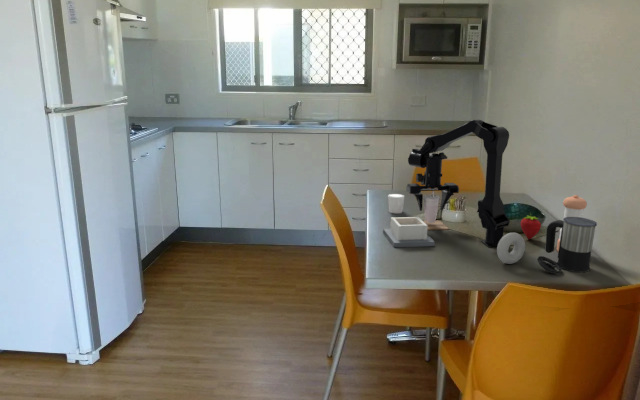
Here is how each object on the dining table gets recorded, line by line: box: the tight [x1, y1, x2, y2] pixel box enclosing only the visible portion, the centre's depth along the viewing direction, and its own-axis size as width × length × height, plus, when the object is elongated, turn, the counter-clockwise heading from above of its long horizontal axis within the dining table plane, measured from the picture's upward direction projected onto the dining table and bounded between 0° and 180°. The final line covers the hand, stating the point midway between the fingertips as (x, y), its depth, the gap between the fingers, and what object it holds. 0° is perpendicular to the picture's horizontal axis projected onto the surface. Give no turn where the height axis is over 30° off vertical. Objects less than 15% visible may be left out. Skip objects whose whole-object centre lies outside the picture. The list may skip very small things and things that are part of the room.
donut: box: [496, 232, 526, 265], centre depth 163 cm, size 10×4×10 cm, turn 113°
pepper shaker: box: [556, 194, 588, 253], centre depth 173 cm, size 7×7×19 cm
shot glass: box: [387, 193, 405, 214], centre depth 220 cm, size 7×7×7 cm
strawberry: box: [520, 213, 542, 240], centre depth 186 cm, size 6×8×10 cm
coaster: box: [422, 219, 450, 231], centre depth 202 cm, size 11×11×1 cm
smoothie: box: [423, 191, 441, 223], centre depth 199 cm, size 6×6×14 cm
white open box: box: [382, 216, 436, 248], centre depth 185 cm, size 16×14×6 cm
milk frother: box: [537, 217, 598, 274], centre depth 158 cm, size 14×16×15 cm
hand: (431, 210), depth 200 cm, fingers closed on smoothie, 8 cm apart
